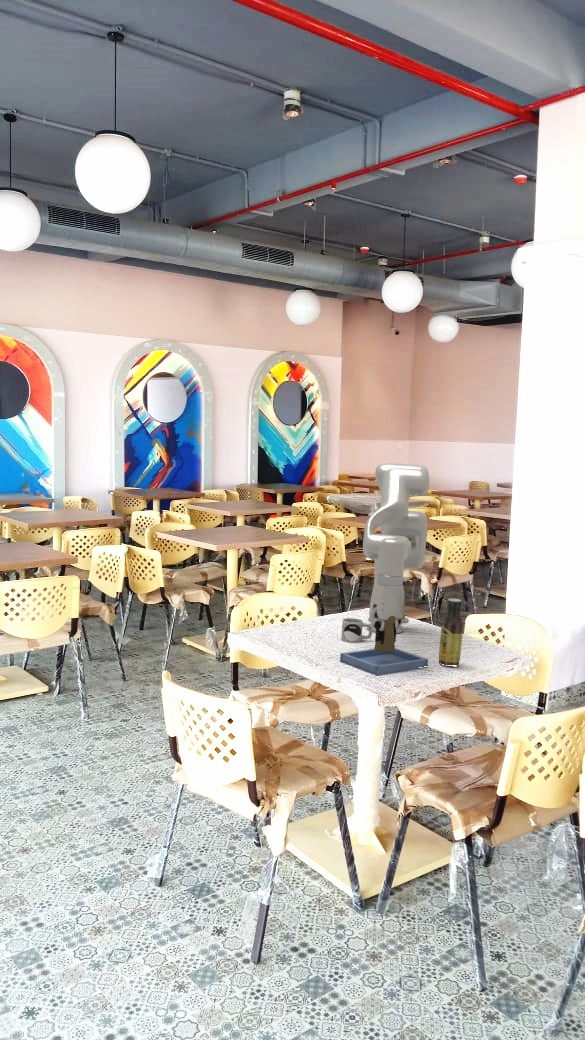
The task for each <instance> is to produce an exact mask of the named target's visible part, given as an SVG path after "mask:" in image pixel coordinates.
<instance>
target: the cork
mask: <svg viewBox="0 0 585 1040" xmlns="http://www.w3.org/2000/svg"><path fill="white" fill-rule="evenodd" d="M395 621H396V618H395V616H390V617H389V618H388V619H387V620H384V622H385V624H384V629H383V631H385V635H384V643H383V644H381V641H377V642H375V644H374V648H373V649H375V650H376V651H380V652H394V651H395V648H396V646H395V644H396V642H394V626H393V624H394V623H395ZM380 623H381V622H380V621H379V624H380Z"/></svg>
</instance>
